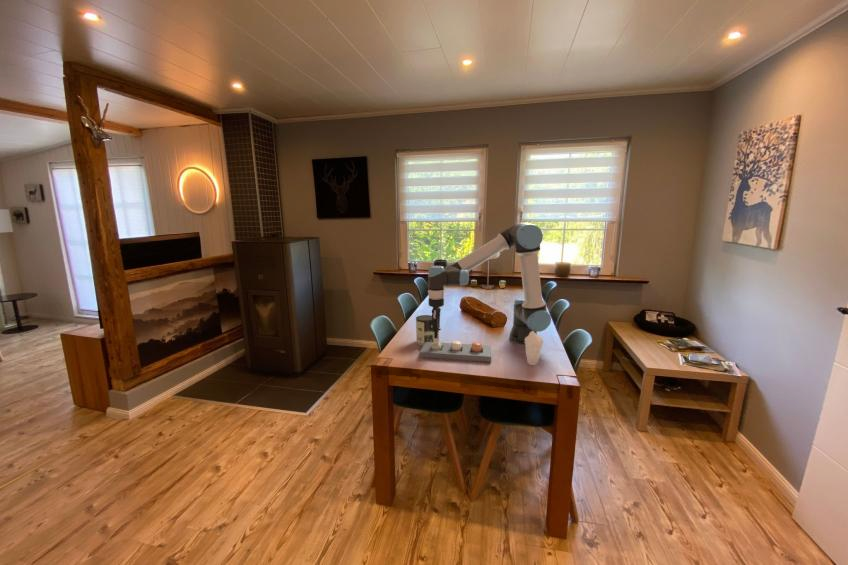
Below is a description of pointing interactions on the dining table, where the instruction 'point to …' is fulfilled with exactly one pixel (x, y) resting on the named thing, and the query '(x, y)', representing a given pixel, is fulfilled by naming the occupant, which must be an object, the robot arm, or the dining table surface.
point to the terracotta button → (476, 347)
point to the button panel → (456, 353)
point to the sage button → (436, 346)
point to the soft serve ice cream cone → (533, 347)
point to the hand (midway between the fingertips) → (436, 343)
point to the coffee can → (424, 329)
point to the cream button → (455, 346)
